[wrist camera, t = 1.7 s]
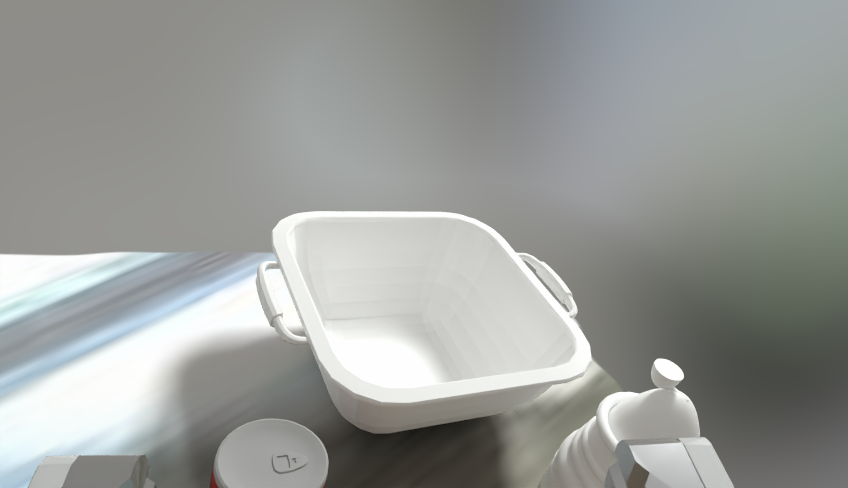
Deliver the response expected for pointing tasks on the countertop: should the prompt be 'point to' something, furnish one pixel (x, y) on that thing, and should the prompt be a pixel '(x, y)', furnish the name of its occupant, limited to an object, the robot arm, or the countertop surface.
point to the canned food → (270, 457)
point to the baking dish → (421, 316)
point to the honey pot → (623, 429)
